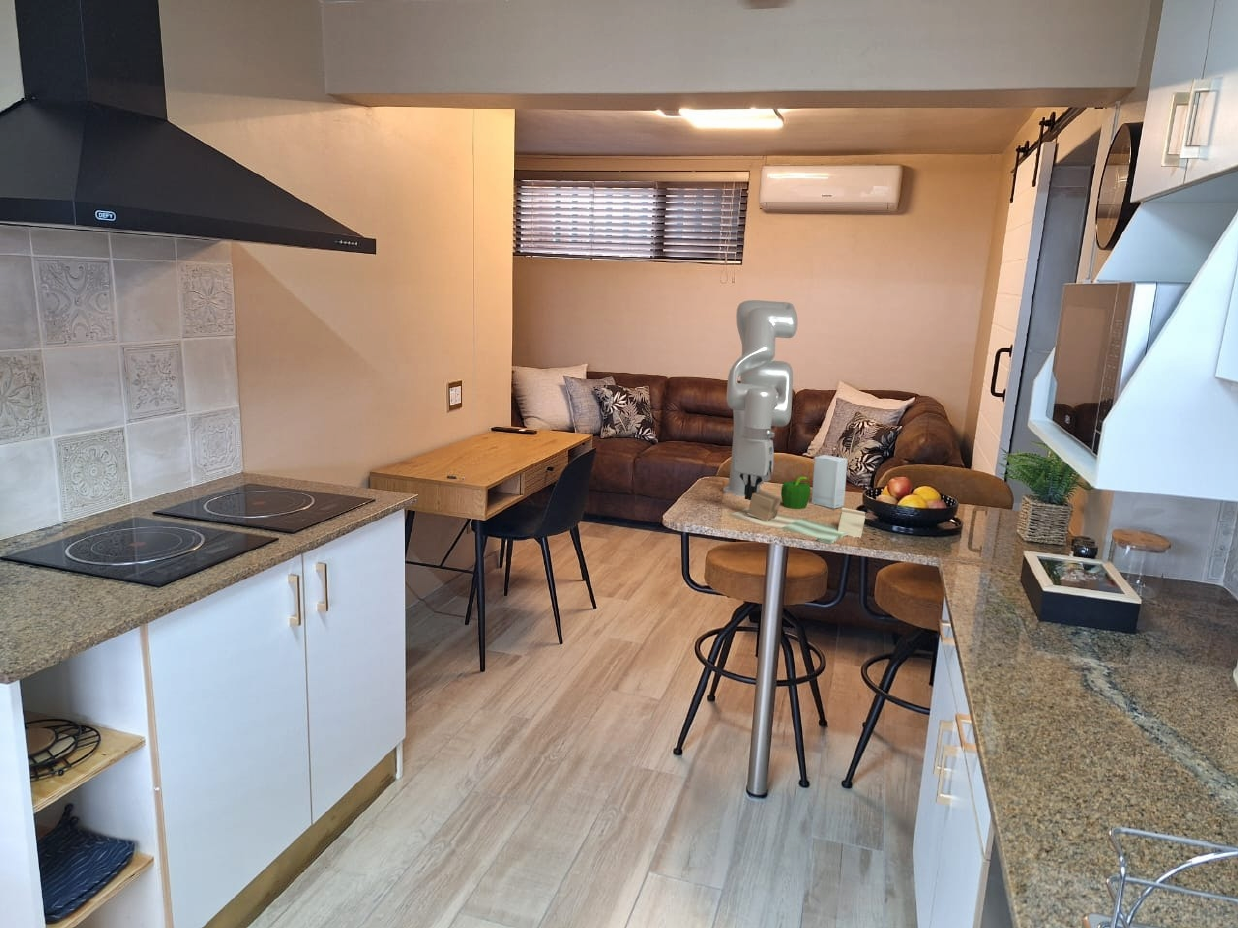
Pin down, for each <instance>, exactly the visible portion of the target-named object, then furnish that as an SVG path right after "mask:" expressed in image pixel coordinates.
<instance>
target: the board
mask: <svg viewBox="0 0 1238 928" xmlns="http://www.w3.org/2000/svg"><path fill="white" fill-rule="evenodd" d="M748 509H749V506H748V507H745V508H743V509H740V510H738V511H736V512H732V513H730V514H728V515H726V517H728V518H732V519H736V520H740V521H746V522H749V523H753V524H757V525H762V526H766V527H771V528H775V529H779V530H783V531H787V532H791V533H797V534H801V535H803V536H804V535H805V536H809V537H813V538H817V539H815V542H818V543H823V544H828V545H832V544H833V543H835V542H837V541H839V540H841V539H842V538H844V537H846V536H845V532H839V531H838V526H837V525H831V524H826V523H823V522H819V521H814V520H810V519H804V518H800V517H796V516H792V515H791V516H790V515H786V514H783V513H778V512H777V516H776V518H774V519H772V520H769V521H767V522H766V521H764V520H761V519H759V518H756V517H754V516H751V515H749V514H747V513H748ZM843 536H844V537H843ZM838 539H839V540H838ZM836 540H837V541H836ZM834 541H835V542H834Z"/></svg>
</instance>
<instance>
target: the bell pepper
mask: <svg viewBox="0 0 1238 928" xmlns="http://www.w3.org/2000/svg"><path fill="white" fill-rule="evenodd" d="M807 479H808V477H806V476H800V477H798V478H797V479H796V481H795V480H791V481H784V482H783V484H782V486H781V490H780V491H781V492H780V493H781V494H780V495H781V496H780V497H781V503H782V506H784V507H785V508H786V509H787V508H788V509H791V510H793V509H794V510H800V509H802V510H804V509H806V508H807V505H808V503H809V500H810V497H811V492H812V491H811V490H812V489H811V486H810V485H809V483H808V482H806V481H807ZM801 481H805V482H801Z"/></svg>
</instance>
